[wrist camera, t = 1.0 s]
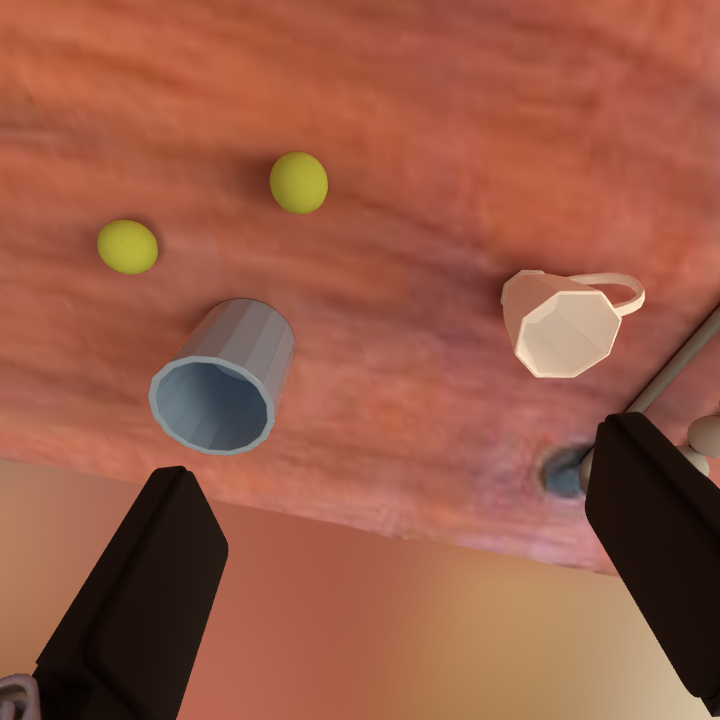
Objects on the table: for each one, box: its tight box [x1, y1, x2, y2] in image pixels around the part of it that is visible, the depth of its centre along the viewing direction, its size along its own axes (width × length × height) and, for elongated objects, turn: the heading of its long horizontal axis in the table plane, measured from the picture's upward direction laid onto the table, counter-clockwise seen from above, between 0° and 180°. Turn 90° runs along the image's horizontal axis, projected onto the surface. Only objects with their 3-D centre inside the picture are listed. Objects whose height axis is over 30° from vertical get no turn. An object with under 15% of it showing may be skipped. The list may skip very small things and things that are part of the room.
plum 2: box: [270, 152, 328, 214], centre depth 28 cm, size 4×4×4 cm
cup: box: [500, 270, 645, 378], centre depth 30 cm, size 7×10×8 cm
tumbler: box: [148, 299, 295, 456], centre depth 32 cm, size 9×9×10 cm
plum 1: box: [97, 219, 158, 274], centre depth 30 cm, size 4×4×4 cm
